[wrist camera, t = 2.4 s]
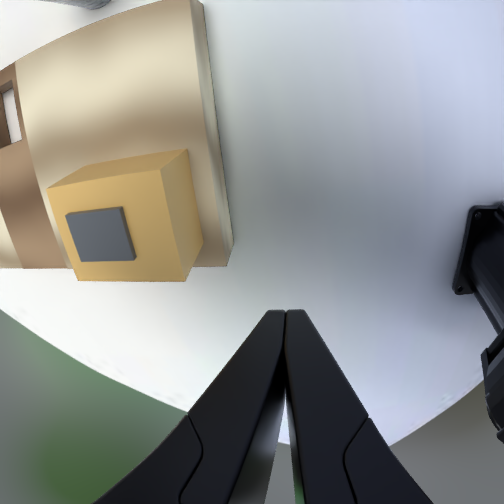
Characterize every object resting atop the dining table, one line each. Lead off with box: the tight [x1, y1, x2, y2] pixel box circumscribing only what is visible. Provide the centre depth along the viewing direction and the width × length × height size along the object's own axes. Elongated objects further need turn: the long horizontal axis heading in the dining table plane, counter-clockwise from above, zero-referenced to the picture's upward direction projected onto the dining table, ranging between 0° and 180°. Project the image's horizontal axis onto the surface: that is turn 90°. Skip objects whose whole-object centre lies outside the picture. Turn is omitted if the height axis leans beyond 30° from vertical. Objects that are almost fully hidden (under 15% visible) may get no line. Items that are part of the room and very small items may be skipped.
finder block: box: [46, 149, 204, 282], centre depth 14 cm, size 5×6×4 cm
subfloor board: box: [0, 0, 234, 269], centre depth 16 cm, size 14×20×2 cm
